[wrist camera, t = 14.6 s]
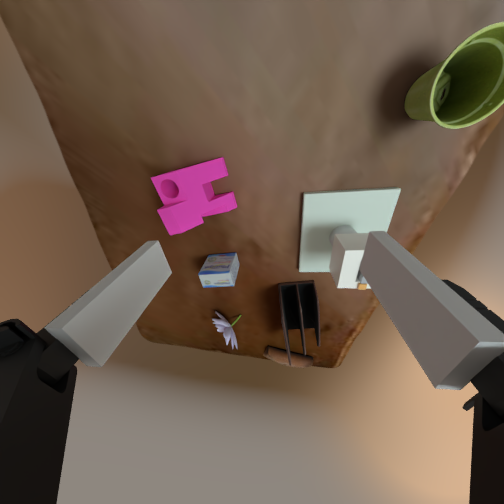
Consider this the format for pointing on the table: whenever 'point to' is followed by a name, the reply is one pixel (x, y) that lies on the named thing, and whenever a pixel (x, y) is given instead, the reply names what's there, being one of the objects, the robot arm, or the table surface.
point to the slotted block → (348, 259)
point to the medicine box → (219, 270)
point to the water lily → (226, 328)
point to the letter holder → (299, 310)
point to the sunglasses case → (282, 358)
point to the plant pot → (462, 83)
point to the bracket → (192, 195)
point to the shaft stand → (341, 221)
